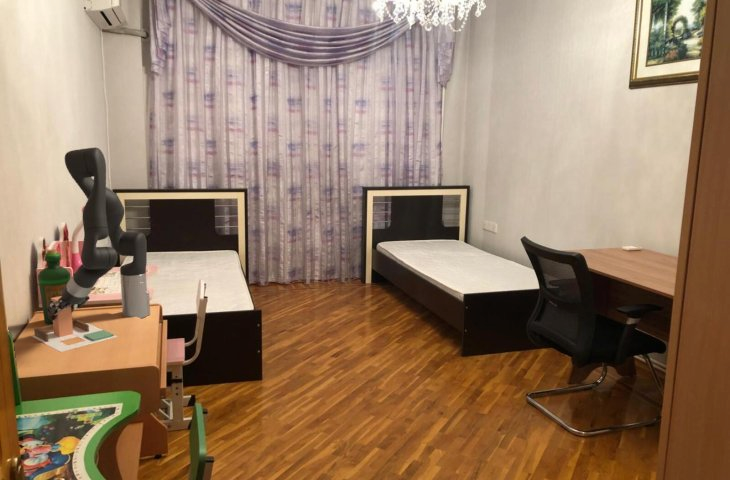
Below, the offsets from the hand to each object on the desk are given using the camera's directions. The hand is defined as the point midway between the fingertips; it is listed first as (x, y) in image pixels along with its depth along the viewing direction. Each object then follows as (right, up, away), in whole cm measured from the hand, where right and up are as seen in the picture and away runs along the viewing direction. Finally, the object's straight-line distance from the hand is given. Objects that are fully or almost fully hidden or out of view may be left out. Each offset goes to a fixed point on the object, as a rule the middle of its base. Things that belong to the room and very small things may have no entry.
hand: (58, 316), depth 198 cm
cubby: (+1, -6, 0) cm, 6 cm away
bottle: (-8, -5, +14) cm, 17 cm away
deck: (+6, -8, -1) cm, 10 cm away
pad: (+14, -7, -1) cm, 16 cm away
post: (+1, -6, 0) cm, 6 cm away
